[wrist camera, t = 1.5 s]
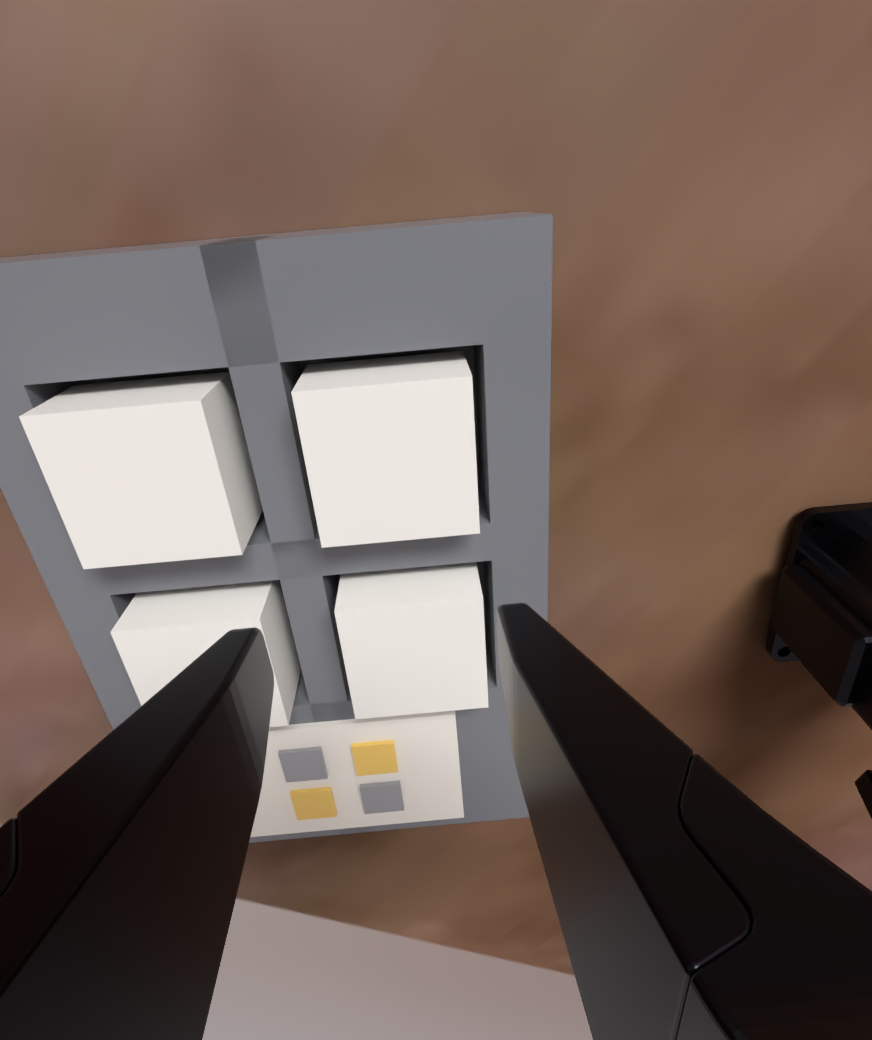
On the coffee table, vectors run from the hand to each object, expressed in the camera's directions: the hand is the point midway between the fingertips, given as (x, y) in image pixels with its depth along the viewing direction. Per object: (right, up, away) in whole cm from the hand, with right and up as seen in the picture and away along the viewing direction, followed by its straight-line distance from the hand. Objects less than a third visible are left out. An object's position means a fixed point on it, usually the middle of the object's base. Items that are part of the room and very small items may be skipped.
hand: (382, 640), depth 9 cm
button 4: (0, -1, +11) cm, 11 cm away
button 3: (0, +4, +8) cm, 9 cm away
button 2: (-6, -2, +11) cm, 12 cm away
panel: (-3, +1, +12) cm, 12 cm away
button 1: (-6, +4, +8) cm, 11 cm away
